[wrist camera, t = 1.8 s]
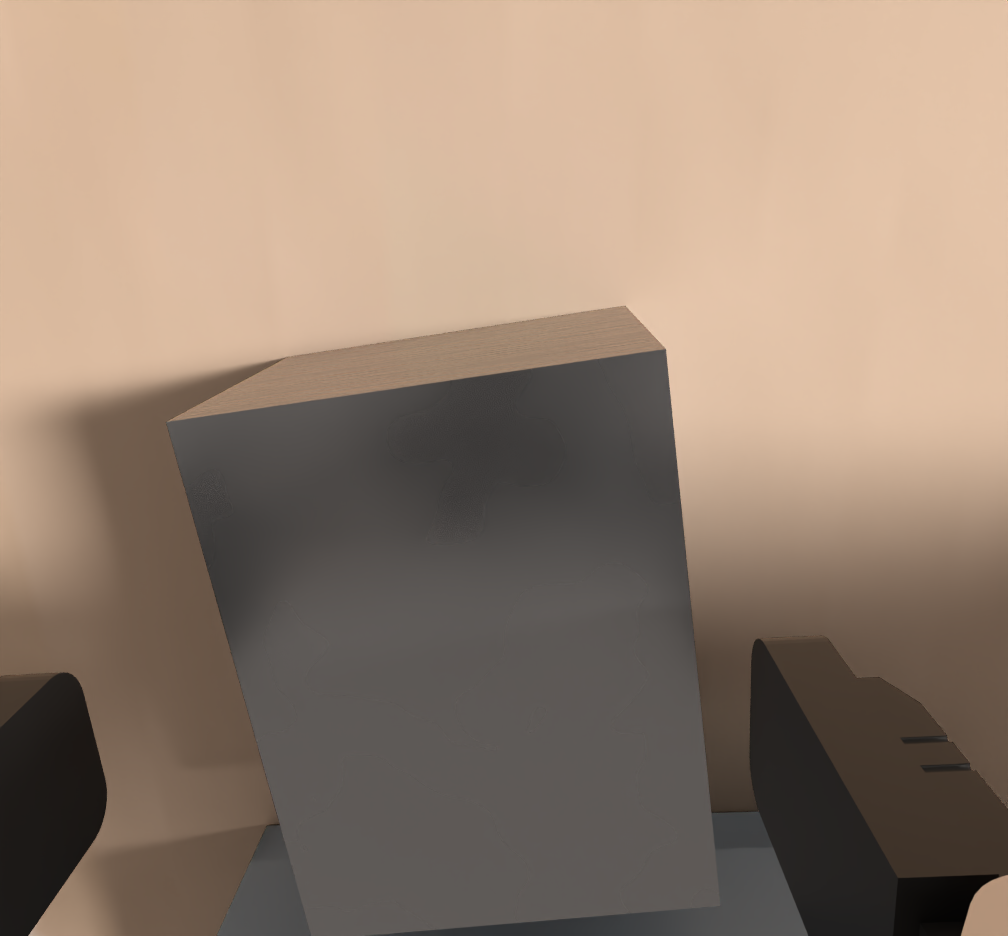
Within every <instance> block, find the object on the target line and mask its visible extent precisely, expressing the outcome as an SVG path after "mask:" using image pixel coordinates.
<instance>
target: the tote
mask: <svg viewBox="0 0 1008 936" xmlns="http://www.w3.org/2000/svg"><path fill="white" fill-rule="evenodd" d="M711 814H712V824H713V834H714V844H715V854H716V864H717V875H718V885H719V895H720V905H721V906H714V907H702V908H690V909H678V910H666V911H654V912H642V913H630V914H618V915H607V916H595V917H583V918H571V919H559V920H547V921H535V922H523V923H511V924H499V925H487V926H475V927H463V928H451V929H439V930H427V931H415V932H403V933H391V934H379V935H367V936H808V934H807V931H806V929H805V926H804V924H803V921H802V919H801V916H800V914H799V911H798V909H797V906H796V904H795V901H794V899H793V896H792V894H791V891H790V889H789V886H788V884H787V881H786V879H785V876H784V874H783V871H782V869H781V866H780V864H779V861H778V858H777V856H776V853H775V851H774V848H773V846H772V843H771V841H770V838H769V836H768V833H767V831H766V828H765V826H764V823H763V821H762V818H761V816H760V813H759V812H727V813H711ZM217 936H311V933H310V929H309V926H308V922H307V919H306V915H305V912H304V908H303V905H302V901H301V898H300V894H299V891H298V887H297V883H296V880H295V876H294V873H293V869H292V866H291V862H290V859H289V855H288V852H287V848H286V845H285V841H284V837H283V834H282V830H281V827H280V825H270V826H266V829H265V831H264V833H263V835H262V837H261V840H260V842H259V844H258V846H257V848H256V851H255V853H254V855H253V857H252V859H251V861H250V864H249V866H248V868H247V870H246V872H245V875H244V877H243V879H242V881H241V883H240V886H239V888H238V890H237V892H236V894H235V896H234V899H233V901H232V903H231V905H230V907H229V910H228V912H227V914H226V916H225V918H224V921H223V923H222V925H221V927H220V929H219V931H218V934H217Z"/></svg>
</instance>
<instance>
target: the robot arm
mask: <svg viewBox="0 0 1008 936" xmlns="http://www.w3.org/2000/svg"><path fill="white" fill-rule="evenodd" d="M750 771H751V779H752V785H753V791H754V796H755V800H756V804H757V807H758V810H759V813H760V816H761V818H762V821H763V823H764V826H765V828H766V831H767V833H768V836H769V838H770V841H771V843H772V846H773V848H774V851H775V853H776V856H777V858H778V861H779V864H780V866H781V869H782V871H783V874H784V876H785V879H786V881H787V884H788V886H789V889H790V891H791V894H792V896H793V899H794V901H795V904H796V906H797V909H798V911H799V914H800V916H801V919H802V921H803V924H804V926H805V929H806V931H807V934H808V936H1008V809H1007V808H1006V807H1005V805H1004V804H1003V803H1002V802H1001V801H1000V799H999V798H998V797H997V796H996V795H995V793H994V792H993V791H992V790H991V788H990V787H989V786H988V785H987V784H986V782H985V781H984V780H983V779H982V778H981V776H980V775H979V774H978V773H977V771H971V768H970V763H969V762H968V760H967V759H966V758H965V757H964V756H963V754H962V753H961V752H960V751H959V750H958V748H957V747H956V746H955V745H954V743H953V742H948V740H947V735H946V734H945V733H944V731H943V730H942V729H941V728H940V726H939V725H938V724H937V723H936V722H935V720H934V719H933V718H932V717H931V716H930V714H929V713H928V712H927V711H926V709H925V708H924V707H923V706H922V705H921V703H919V702H918V701H916V700H915V699H913V698H911V697H910V696H908V695H907V694H905V693H903V692H902V691H900V690H899V689H897V688H895V687H894V686H892V685H891V684H889V683H888V682H886V681H884V680H883V679H881V678H880V677H872V678H856V677H855V675H854V674H853V673H852V671H851V670H850V669H849V667H848V666H847V664H846V663H845V662H844V660H843V659H842V658H841V656H840V655H839V653H838V652H837V651H836V649H835V648H834V647H833V645H832V644H831V642H830V641H829V640H828V639H827V638H826V637H825V636H822V635H819V636H800V637H780V638H761V639H756V641H755V642H754V645H753V649H752V660H751V705H750ZM106 802H107V787H106V781H105V776H104V772H103V768H102V764H101V760H100V756H99V752H98V748H97V745H96V741H95V737H94V733H93V729H92V725H91V721H90V717H89V713H88V709H87V705H86V701H85V697H84V693H83V690H82V687H81V685H80V683H79V682H78V680H77V679H76V678H75V677H74V676H73V675H71V674H69V673H45V674H26V675H6V676H1V677H0V936H28V935H29V934H30V932H31V931H32V929H33V928H34V927H35V925H36V924H37V922H38V921H39V919H40V918H41V916H42V915H43V914H44V912H45V911H46V909H47V908H48V906H49V905H50V903H51V902H52V901H53V899H54V898H55V896H56V895H57V893H58V892H59V890H60V889H61V888H62V886H63V885H64V883H65V882H66V880H67V879H68V877H69V876H70V875H71V873H72V872H73V870H74V869H75V867H76V866H77V864H78V863H79V862H80V860H81V859H82V857H83V856H84V854H85V853H86V851H87V850H88V849H89V847H90V846H91V844H92V843H93V841H94V840H95V838H96V836H97V834H98V832H99V830H100V828H101V825H102V822H103V818H104V815H105V809H106Z"/></svg>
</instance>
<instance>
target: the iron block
mask: <svg viewBox="0 0 1008 936" xmlns="http://www.w3.org/2000/svg"><path fill="white" fill-rule="evenodd" d="M166 424H167V427H168V431H169V434H170V438H171V441H172V445H173V448H174V452H175V455H176V459H177V463H178V466H179V470H180V473H181V477H182V480H183V484H184V487H185V491H186V494H187V498H188V501H189V505H190V509H191V512H192V516H193V519H194V523H195V526H196V530H197V533H198V537H199V540H200V544H201V547H202V551H203V555H204V558H205V562H206V565H207V569H208V572H209V576H210V579H211V583H212V586H213V590H214V593H215V597H216V601H217V604H218V608H219V611H220V615H221V618H222V622H223V625H224V629H225V632H226V636H227V639H228V643H229V646H230V650H231V654H232V657H233V661H234V664H235V668H236V671H237V675H238V678H239V682H240V685H241V689H242V692H243V696H244V700H245V703H246V707H247V710H248V714H249V717H250V721H251V724H252V728H253V731H254V735H255V738H256V742H257V746H258V749H259V753H260V756H261V760H262V763H263V767H264V770H265V774H266V777H267V781H268V784H269V788H270V792H271V795H272V799H273V802H274V806H275V809H276V813H277V816H278V820H279V823H280V827H281V830H282V834H283V837H284V841H285V845H286V848H287V852H288V855H289V859H290V862H291V866H292V869H293V873H294V876H295V880H296V883H297V887H298V891H299V894H300V898H301V901H302V905H303V908H304V912H305V915H306V919H307V922H308V926H309V929H310V933H311V936H367V935H379V934H391V933H403V932H415V931H427V930H439V929H451V928H463V927H475V926H487V925H499V924H511V923H523V922H535V921H547V920H559V919H571V918H583V917H595V916H607V915H618V914H630V913H642V912H654V911H666V910H678V909H690V908H702V907H714V906H721V905H720V895H719V885H718V875H717V864H716V854H715V844H714V834H713V824H712V814H711V804H710V793H709V783H708V773H707V763H706V753H705V743H704V733H703V722H702V712H701V702H700V692H699V682H698V672H697V662H696V651H695V641H694V631H693V621H692V611H691V601H690V591H689V580H688V570H687V560H686V550H685V540H684V530H683V519H682V509H681V499H680V489H679V479H678V469H677V459H676V448H675V438H674V428H673V418H672V408H671V398H670V388H669V377H668V367H667V357H666V349H665V348H664V347H663V346H662V344H661V343H660V342H659V341H658V340H657V339H656V338H655V337H654V336H653V335H652V334H651V333H650V332H649V331H648V330H647V329H646V327H645V326H644V325H643V324H642V323H641V322H640V321H639V320H638V319H637V318H636V317H635V316H634V315H633V314H632V313H631V311H630V310H629V309H628V308H627V307H626V306H621V307H614V308H607V309H601V310H594V311H588V312H581V313H575V314H568V315H561V316H555V317H548V318H542V319H535V320H528V321H522V322H515V323H509V324H502V325H495V326H489V327H482V328H476V329H469V330H463V331H456V332H449V333H443V334H436V335H430V336H423V337H416V338H410V339H403V340H397V341H390V342H383V343H377V344H370V345H364V346H357V347H351V348H344V349H337V350H331V351H324V352H318V353H311V354H304V355H298V356H291V357H287V358H285V359H283V360H281V361H279V362H277V363H276V364H274V365H272V366H270V367H268V368H266V369H264V370H262V371H261V372H259V373H257V374H255V375H253V376H251V377H249V378H247V379H246V380H244V381H242V382H240V383H238V384H236V385H234V386H232V387H231V388H229V389H227V390H225V391H223V392H221V393H219V394H217V395H216V396H214V397H212V398H210V399H208V400H206V401H204V402H202V403H201V404H199V405H197V406H195V407H193V408H191V409H189V410H187V411H186V412H184V413H182V414H180V415H178V416H176V417H174V418H172V419H171V420H169V421H167V422H166Z"/></svg>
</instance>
